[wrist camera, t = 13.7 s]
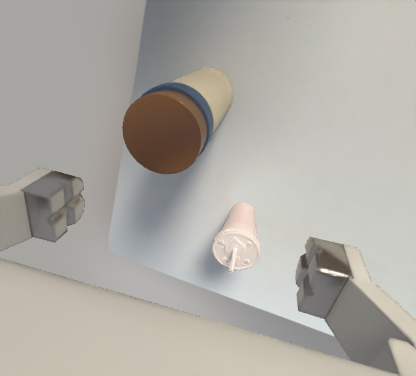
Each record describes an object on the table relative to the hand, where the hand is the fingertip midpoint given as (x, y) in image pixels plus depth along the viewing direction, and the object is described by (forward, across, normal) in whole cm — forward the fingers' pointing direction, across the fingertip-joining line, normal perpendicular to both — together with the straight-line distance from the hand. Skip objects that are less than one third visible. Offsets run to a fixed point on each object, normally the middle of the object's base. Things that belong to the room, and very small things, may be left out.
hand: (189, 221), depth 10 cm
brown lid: (+15, +6, +2) cm, 17 cm away
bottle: (+31, +6, +2) cm, 32 cm away
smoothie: (+31, -3, +19) cm, 37 cm away
